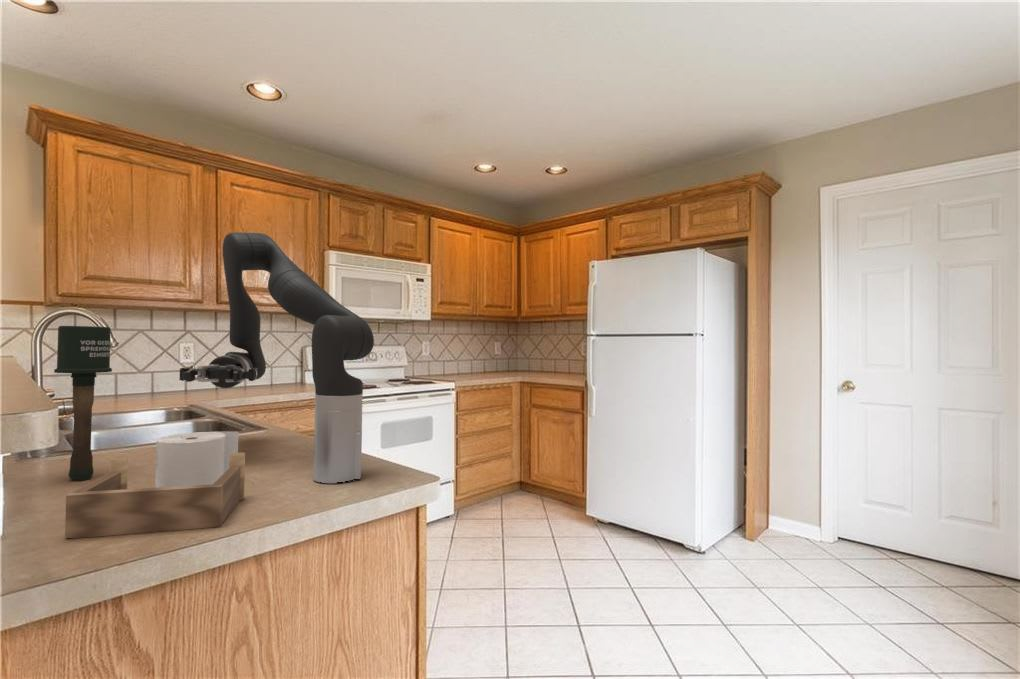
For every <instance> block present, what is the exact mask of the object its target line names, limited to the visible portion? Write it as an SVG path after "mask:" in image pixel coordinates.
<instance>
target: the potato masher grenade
mask: <svg viewBox="0 0 1020 679" xmlns="http://www.w3.org/2000/svg"><path fill="white" fill-rule="evenodd" d="M56 354H57V355H56V357H57V358H56V368H55V369H54V373H56V374H71V375H70V378H72V379H71V380H72V386H71V387H72V406H73V427H72V428H73V432H72V433H73V434H72V452H71V456H70V460H69V461H70V462H69V464H70V465H69V471H68V478H69V480H70V481H73V482H81V481H86V480H89V479H91V478H92V477H93V475H94V471H95V470H94V463H93V462H94V461H93V460H94V459H93V458H94V457H93V456H94V455H93V453H92V421H93V420H92V417H93V414H92V411H93V406H94V402H95V385H96V384H95V383H96V382H95V381H96V378H97V377H98V375H97V373H98V374H99V373H111V372H112V371H113V368H112V367H111V365H110V364H111V327H108V326H93V325H92V326H91V325H90V326H87V325H59V326H58V328H57V352H56Z"/></svg>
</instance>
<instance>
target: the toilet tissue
mask: <svg viewBox="0 0 1020 679" xmlns="http://www.w3.org/2000/svg"><path fill="white" fill-rule="evenodd" d="M239 436H240V433H239V431H230V430H229V431H224V430H222V431H219V430H218V431H215V430H214V431H201V432H200V431H199V432H185V433H177V434H176V433H175V434H171V435H165V436H161V437H159V438H157V439H156V441H155V442H156V444H155V445H156V446H155V448H156V451H155V453H156V454H155V484H154V488H158V487H176V486H193V485H211V484H214V483H215V482H216V481H217V480H218V479H219V478H220V477H221V476H222V475H223V474H224V473H225V472H226V471H227V470H228V469H229V454H231V453H237V452H239Z"/></svg>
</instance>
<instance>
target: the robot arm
mask: <svg viewBox="0 0 1020 679" xmlns="http://www.w3.org/2000/svg"><path fill="white" fill-rule="evenodd" d="M222 261H223V269H224V276H225V283H226V284H225V285H226V289H227V290H226V291H227V297H228V298H227V299H228V304H229V342H230V344H231V346H233V347H235V348H238V349H241V350H243V351H245V352H239V351H229V352H226V353H225V354H224V355H220V356H218V357H216V358H214V359H213V360H211V361H210V363H209V364H208V365H199V366H197V367H195V366H193V365H191V366H186V367H180V368H179V381H181V382H184V381H185V382H186V383H187V382H188V383H191V382H194V381H197V382H199V383H200V382H201V383H207V382H209V383H211V384H212V385H214V387H217V388H220V389H229V388H230V389H231V388H233V387H235V386H238V385H240V384H241V383H243V382H245V381H246V380H248V381H249V382H253V381H256V380H259V379H261V378H262V377H263V376H264V375H265V373H266V369H267V365H266V358H265V356H264V352H263V350H262V346H261V344H262V343H261V314H260V311H259V309H258V306H256V303H255V302H254V300H253V299H252V298H251V296H250V294H249V293H248V291H247V290H246V288H245V285H244V281H243V280H244V279H243V271H265V272H268V273H269V277H268V282H267V288H268V292H269V293H268V294H269V295H270V297H271V298H272V299H273V300H274V301H275V302H276V303H277V304H278V305H279V306H280V308H282V309H283V310H284V311H285V312H287V313H288V314H290V315H291V316H292V317H295V318H297V319H299V320H301V321H304V322H306V323H308V324H311V325H313V328H312V333H311V367H312V368H311V370H312V379H313V383H314V390H315V391H314V393H315V394H314V429H313V430H314V433H313V434H314V435H313V440H314V441H313V470H312V472H313V477H312V478H313V480H314V481H315V482H318V483H320V482H321V483H322V484H338V483H337V482H343V483H346V482H345V481H349V480H353V479H360V478H361V479H362V454H363V453H362V450H363V449H362V444H363V442H362V441H363V439H362V438H363V396H364V394H363V393H364V386H363V385H364V383H363V380H361V379H360V378H358V377H355V376H354V375H351V374H349V373H348V371H347V370H346V368H345V361H357V360H361V359H364V358H366V357H367V356H368V355H370V354H371V352H372V351H373V349H374V345H375V344H374V343H375V337H374V333H373V331H372V329H371V327H370V325H369V324H368V323H367V321H366V320H365V319H363V318H362V317H361V316H359V315H358V314H356V313H354V312H353V311H351V310H350V309H349V308H347V307H345V306H344V305H342V304H341V303H340V302H339V301H337V300H336V299H335V298H334V297H333V296H332V295H331V294H330V293H328V291H326V290H325V289H323V287H321V286H320V285H319V284H318V283H317V282H316V281H315V280H314V279H313V278H312V277H310V276H309V275H308V274H307V272H305V271H304V270H302V269H301V268H300V267H298V265H297V264H296V263H294V262H293V261H292V260H291V259H290V258H289V257H288V256H287V254H286V253H285V252H284V251H283V250H282V249H281V247H280V246H279V245H278V244H277V243H276V241H274V239H273V238H272V237H271V236H269V235H267V234H264V233H262V232H241V231H240V232H239V231H238V232H236V231H235V232H229V233H227V234H226V235H225V237H224V239H223V242H222ZM361 479H360V480H361ZM353 481H354V480H353ZM349 482H350V481H349Z"/></svg>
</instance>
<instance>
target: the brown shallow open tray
mask: <svg viewBox="0 0 1020 679" xmlns="http://www.w3.org/2000/svg"><path fill="white" fill-rule="evenodd" d="M128 459H129V457H126V456H120V457H117V456H116V457H113V458H109V460H108V461H109V462H108V473H107V474H105V475H103V476H101V477H99V478H97V479H95V480H93V481H92V482H89V483H88V484H85V485H84V486H82V487H80V488H78V489H76V490H74V491H72V492H70V493H68V494H66V496H65V521H64V522H65V524H64V525H65V526H64V540H68V539H67V538H73V539H84V538H94V537H95V538H96V537H107V536H108V537H110V536H121V535H132V534H133V535H134V534H146V533H148V534H149V533H157V532H159V533H160V532H170V531H171V532H172V531H183V530H185V531H186V530H195V529H196V530H197V529H208V528H220V527H221V526H222V525H223V523H224V522H225V521H226V520H227V518H228V517H229V516H230V514H231V513H232V512H233V511H234V509H235V508H236V507H237V505H238V504H239V503H240V502H241V501H244V500H245V477H246V476H245V475H246V474H245V473H246V471H245V470H246V469H245V468H246V452H243V451H242V452H241V451H240V452H239V451H238V452H237V453H231V454H229V469H228V470H227V471H226V472H225V473H224V474H223V475H222V476H221V477H220V478H219V479H218V480H217V481H216V482H215V483H214V484H211V485H193V486H176V487H158V488H155V487H145V488H142V487H141V488H130V489H129V488H128V471H129V470H128V465H129V462H128V461H129V460H128Z"/></svg>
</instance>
